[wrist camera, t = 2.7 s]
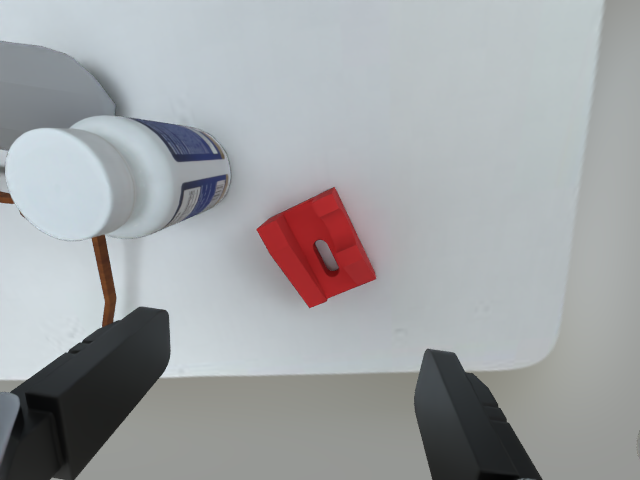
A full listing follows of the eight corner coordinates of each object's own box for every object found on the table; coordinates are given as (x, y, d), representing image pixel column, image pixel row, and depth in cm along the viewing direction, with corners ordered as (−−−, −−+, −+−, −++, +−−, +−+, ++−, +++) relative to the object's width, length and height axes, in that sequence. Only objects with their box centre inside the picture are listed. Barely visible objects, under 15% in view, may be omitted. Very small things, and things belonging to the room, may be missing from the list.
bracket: (269, 218, 20) (256, 229, 17) (334, 186, 19) (331, 193, 16) (312, 298, 22) (306, 320, 19) (375, 272, 21) (378, 292, 18)
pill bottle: (143, 134, 20) (-44, 120, 10) (221, 119, 19) (97, 89, 10) (167, 216, 21) (22, 268, 12) (241, 205, 20) (149, 251, 11)
